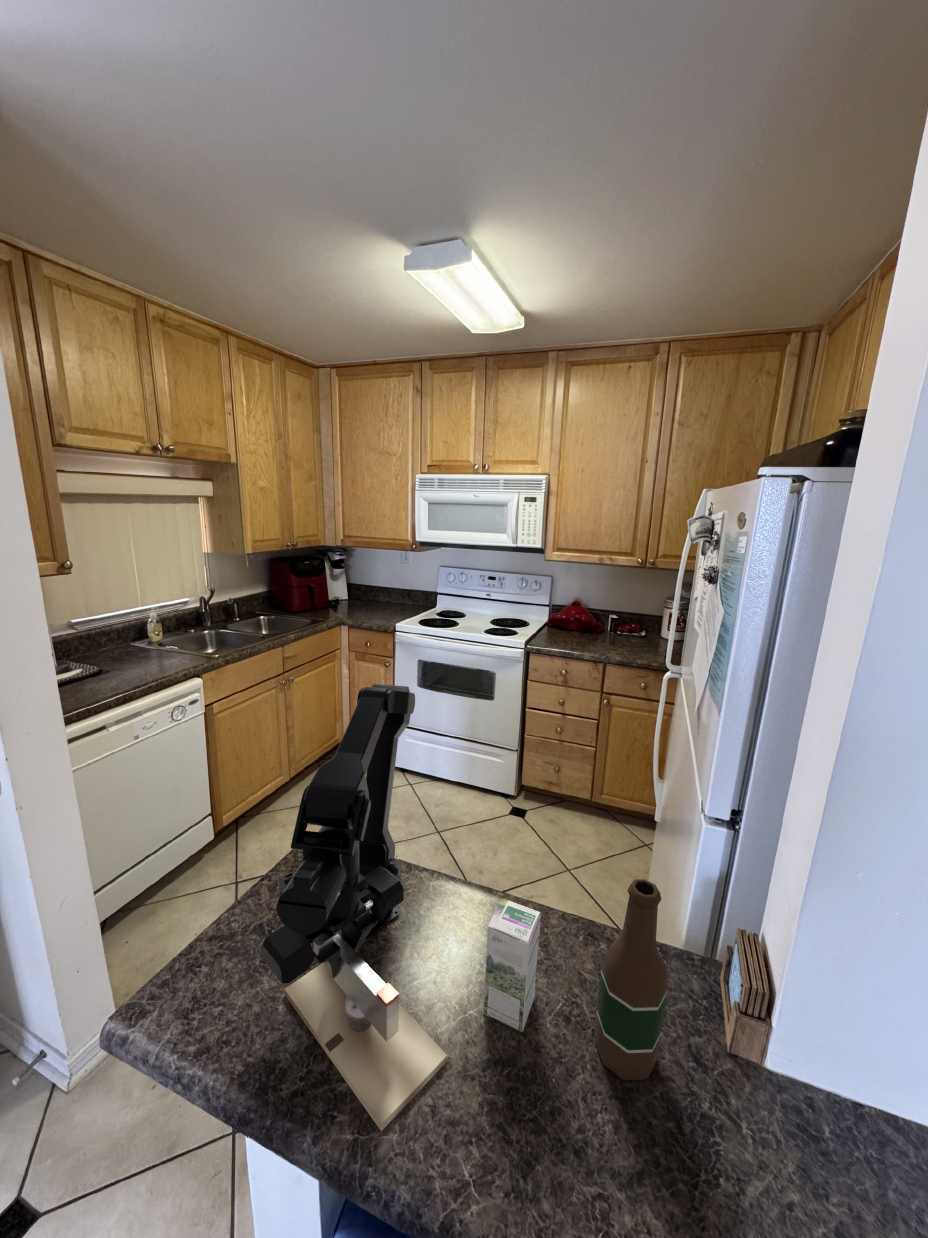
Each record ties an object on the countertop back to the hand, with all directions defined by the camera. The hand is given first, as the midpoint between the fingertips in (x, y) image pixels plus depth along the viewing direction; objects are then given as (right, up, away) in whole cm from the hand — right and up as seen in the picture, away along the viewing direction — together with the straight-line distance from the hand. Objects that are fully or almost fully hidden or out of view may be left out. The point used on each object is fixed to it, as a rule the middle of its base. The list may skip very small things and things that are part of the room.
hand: (339, 970), depth 67 cm
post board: (+3, -6, -2) cm, 7 cm away
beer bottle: (+37, -8, -4) cm, 38 cm away
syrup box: (+23, -6, +1) cm, 24 cm away
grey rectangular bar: (+4, -3, -3) cm, 5 cm away
